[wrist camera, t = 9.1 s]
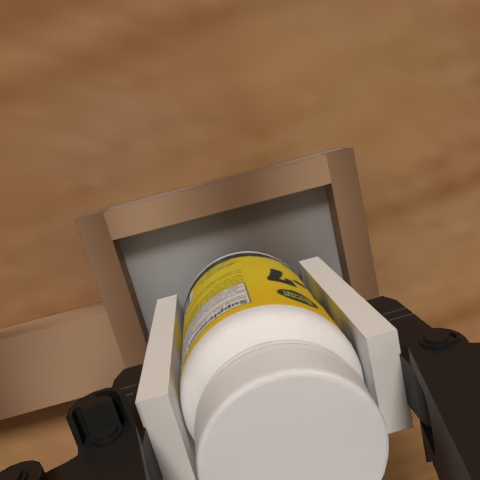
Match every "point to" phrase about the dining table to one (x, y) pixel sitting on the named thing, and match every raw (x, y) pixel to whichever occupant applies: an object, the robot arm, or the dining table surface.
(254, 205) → the wooden tray with handle
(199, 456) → the supplement bottle
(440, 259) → the dining table surface
